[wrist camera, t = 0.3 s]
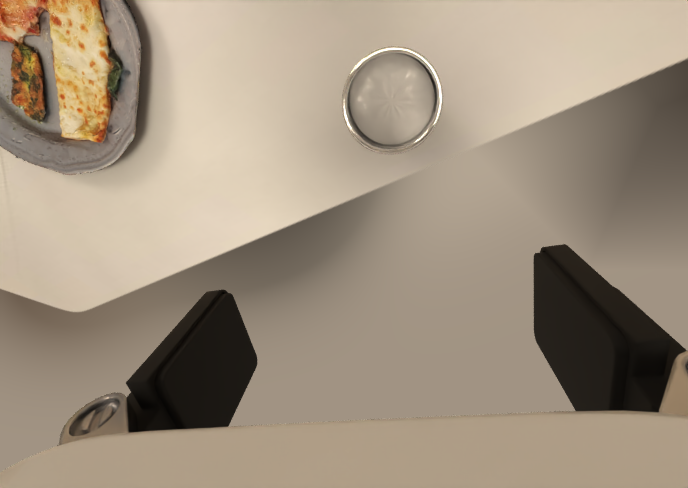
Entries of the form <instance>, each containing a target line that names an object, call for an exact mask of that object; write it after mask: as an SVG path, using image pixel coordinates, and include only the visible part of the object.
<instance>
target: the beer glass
mask: <svg viewBox="0 0 688 488" xmlns="http://www.w3.org/2000/svg"><path fill="white" fill-rule="evenodd" d="M442 105H443V90H442V85H441V81H440V78H439V76H438V73H437V71H436V70H435V68H434V67H433V65H432V64H431V63H430V62H429V61H428V60H427V59H426V58H425V57H424V56H423V55H421V54H420V53H418V52H416V51H414V50H412V49H409V48H406V47H399V46H391V47H384V48H381V49H378V50H375V51H373V52H371V53H370V54H368V55H366V56H365V57H364V58H363V59H361V60H360V61H359V62H358V63H357V64H356V66H355V67H354V68H353V70H352V71H351V73H350V74H349V76H348V78H347V80H346V83H345V86H344V90H343V95H342V111H343V116H344V120H345V123H346V125H347V127H348V129H349V131H350V133H351V134H352V136H353V137H354V138H355V139H356V140H357V141H358V142H359V143H360V144H361V145H363V146H364V147H366V148H367V149H369V150H371V151H374V152H377V153H381V154H399V153H403V152H406V151H409V150H411V149H413V148H415V147H416V146H418V145H419V144H421V143H422V142H423V141H424V140H425V139H426V138H427V137H428V136H429V135H430V134H431V132H432V131H433V130H434V128H435V126H436V124H437V122H438V120H439V117H440V114H441V111H442Z"/></svg>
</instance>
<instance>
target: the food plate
mask: <svg viewBox="0 0 688 488" xmlns="http://www.w3.org/2000/svg"><path fill="white" fill-rule="evenodd" d="M139 39H140V37H139V29H138V26H137V25H136V21H135V17H134V16H133V13H132V11H131V9H130V6H129V5H128V3H127V2H126V0H0V146H1V147H2V148H4V149H5V150H7V151H9V152H10V153H12V154H13V155H15V156H16V158H18V157H19V158H22V159H23V160H24V161H27V162H29V163H32V164H35V165H38V166H40V167H44V168H47V169H50V170H53V171H56V172H57V171H58V172H59V173H62V174H65V175H66V174H67V175H76V174H81V173H85V172H87V173H89V172H94V171H97V170H101V169H103V168H105V167H107V166H109V165H111V164H112V163H114V162H115V161H116V160H117V159H119V157H121V155H122V154H123V153H124V152H125V150H126V148H127V147H128V145H129V144H130V143H131V141H132V140H133V139H134V136H135V131H134V130H135V128H136V114H137V111H138V110H137V106H138V99H139V98H138V97H139V80H140V79H139V78H140V62H141V60H140V59H141V55H140V54H142V53H141V52H142V47H141V43H140V40H139ZM139 50H141V52H139Z"/></svg>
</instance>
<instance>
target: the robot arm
mask: <svg viewBox="0 0 688 488" xmlns="http://www.w3.org/2000/svg"><path fill="white" fill-rule="evenodd" d="M534 334H535V339H536V342H537V344H538V345H539V347H540V349H541V351H542V352H543V354H544V356H545V358H546V360H547V361H548V363H549V365H550V366H551V368H552V370H553V372H554V374H555V375H556V377H557V379H558V381H559V382H560V384H561V386H562V388H563V389H564V391H565V393H566V395H567V396H568V398H569V400H570V402H571V403H572V405H573V407H574V408H575V410H576V411H554V412H533V413H532V412H531V413H508V414H485V415H461V416H440V417H439V416H438V417H416V418H392V419H371V420H350V421H329V422H309V423H289V424H270V425H251V426H232V427H228V426H229V424H230V422H231V419H232V417H233V415H234V413H235V411H236V409H237V407H238V405H239V402H240V400H241V398H242V396H243V394H244V392H245V390H246V388H247V386H248V384H249V382H250V379H251V377H252V375H253V373H254V371H255V369H256V366H257V356H256V353H255V350H254V348H253V346H252V343H251V341H250V338H249V335H248V333H247V330H246V328H245V325H244V323H243V320H242V317H241V315H240V312H239V310H238V307H237V305H236V302H235V300H234V297H233V295H232V294H230V293H228V292H227V291H226V290H218V291H209V292H206V293H205V294H204V295H203V296H202V297H201V299H200V300H199V301H198V302H197V303H196V304H195V305H194V306H193V308H192V309H191V310H190V311H189V312H188V313H187V314H186V316H185V317H184V318H183V319H182V320H181V321H180V322H179V323H178V325H177V326H176V327H175V328H174V329H173V330H172V332H170V334H169V335H168V336H167V337H166V338H165V339H164V341H162V343H161V344H160V345H159V346H158V347H157V348H156V349H155V350H154V352H153V353H152V354H151V355H150V356H149V357H148V358H147V360H146V361H145V362H144V363H143V364H142V365H141V366H140V367H139V369H138V370H137V371H136V372H135V373H134V374H133V375H132V377H131V378H130V379H129V380H128V381H127V382H126V384H127V386H128V387H129V389H130V391H131V393H130V394H129V396H128V397H127V398H126V396H125V395H124V394H122V393H111V394H106V395H104V396H101V397H99V398H97V399H95V400H93V401H92V402H90V403H88V404H86V405H85V406H84V407H82V408H81V409H80V410H78V411H77V412H76V413H75V414H74V415H73V416H72V417H71V418H70V419H69V420H68V422H67V423H66V424H65V425H64V427H63V430H62V432H61V436H60V441H59V445H57V446H56V447H54V448H51V449H48V450H45V451H43V452H40V453H38V454H35V455H33V456H31V457H29V458H26V459H24V460H22V461H20V462H18V463H16V464H14V465H12V466H10V467H9V468H7V469H5V470H4V471H2V472H0V488H688V351H687V350H686V349H685V348H683V347H682V346H681V345H680V344H679V343H678V342H677V341H676V340H674V339H673V338H672V337H671V336H670V335H669V334H668V333H667V332H665V331H664V330H663V329H662V328H661V327H660V326H659V325H658V324H656V323H655V322H654V321H653V320H652V319H651V318H650V317H649V316H647V315H646V314H645V313H644V312H643V311H642V310H641V309H640V308H638V307H637V306H636V305H635V304H634V303H633V302H632V301H631V300H629V299H628V298H627V297H626V296H625V295H624V294H623V293H622V292H621V291H620V290H618V289H617V288H615V287H613V286H612V285H610V284H609V283H608V282H607V281H606V280H605V279H604V278H603V277H602V276H601V275H599V274H598V273H597V272H596V271H595V270H594V269H593V268H592V267H591V266H589V265H588V264H587V263H586V262H585V261H584V260H583V259H582V258H580V257H579V256H578V255H577V254H576V253H575V252H574V251H573V250H572V249H571V248H569V247H568V246H567V245H565V244H564V245H556V246H549V247H542V248H541V251H540V253H535V255H534Z"/></svg>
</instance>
